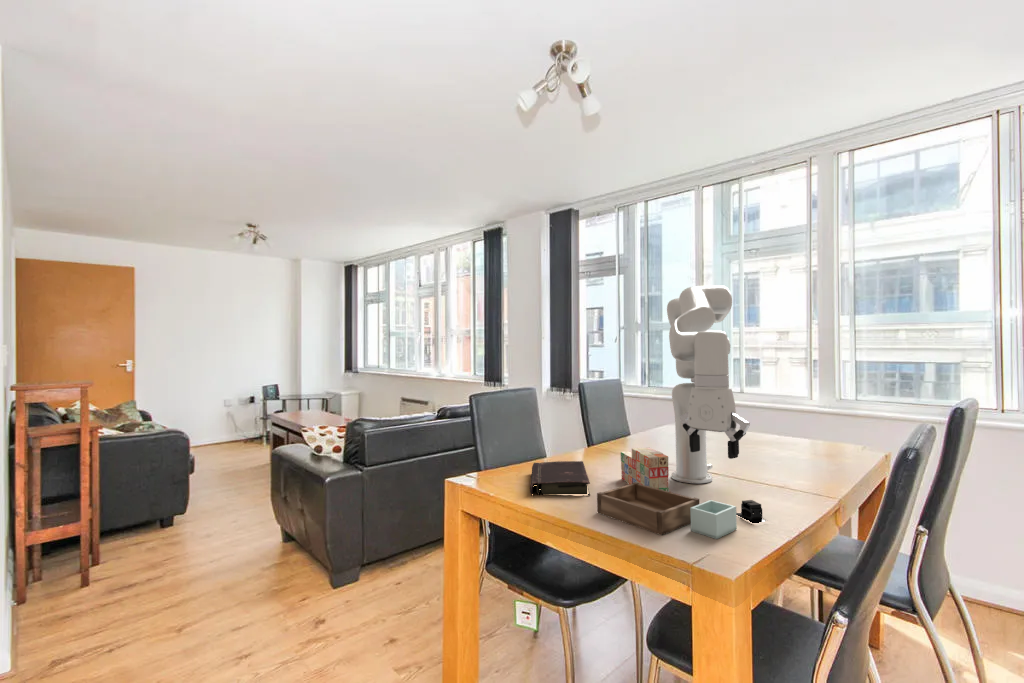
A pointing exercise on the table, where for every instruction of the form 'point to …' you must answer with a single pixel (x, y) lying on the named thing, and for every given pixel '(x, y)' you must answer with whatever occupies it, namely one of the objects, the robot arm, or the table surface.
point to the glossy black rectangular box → (751, 511)
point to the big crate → (647, 507)
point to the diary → (560, 477)
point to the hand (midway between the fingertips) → (713, 454)
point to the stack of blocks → (645, 468)
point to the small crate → (713, 519)
